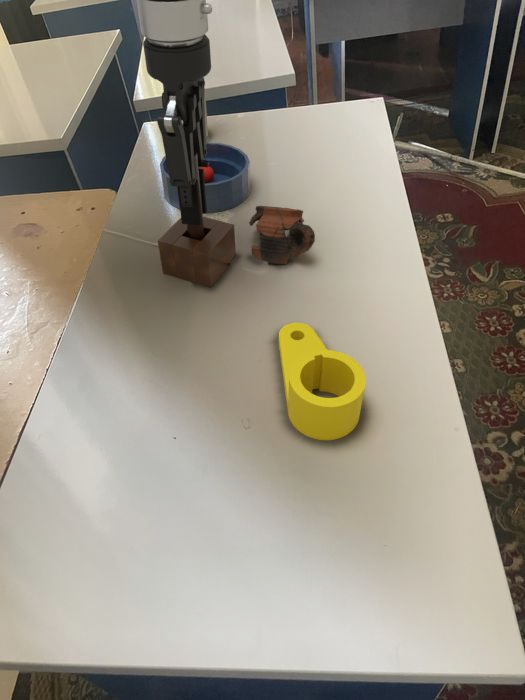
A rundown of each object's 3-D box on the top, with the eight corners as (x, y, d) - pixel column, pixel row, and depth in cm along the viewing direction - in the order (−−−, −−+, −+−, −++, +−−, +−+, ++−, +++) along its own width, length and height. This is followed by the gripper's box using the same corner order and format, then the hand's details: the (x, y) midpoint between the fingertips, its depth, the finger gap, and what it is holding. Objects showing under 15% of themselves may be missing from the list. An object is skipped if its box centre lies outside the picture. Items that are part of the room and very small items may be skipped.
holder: (162, 274, 85) (157, 240, 81) (189, 244, 91) (186, 212, 86) (211, 288, 83) (207, 254, 79) (236, 257, 88) (234, 224, 84)
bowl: (148, 205, 99) (142, 173, 95) (191, 166, 109) (188, 136, 104) (225, 225, 94) (223, 193, 90) (263, 183, 104) (263, 151, 100)
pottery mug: (234, 257, 89) (238, 203, 87) (271, 256, 96) (276, 206, 94) (295, 269, 82) (301, 210, 79) (331, 266, 89) (337, 212, 87)
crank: (369, 432, 65) (377, 398, 60) (299, 446, 63) (301, 413, 59) (321, 327, 77) (325, 292, 73) (261, 337, 76) (261, 303, 71)
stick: (188, 267, 86) (175, 155, 73) (196, 259, 88) (184, 147, 75) (202, 271, 86) (191, 159, 73) (210, 262, 87) (200, 151, 74)
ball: (195, 183, 102) (193, 168, 100) (203, 176, 104) (201, 161, 102) (209, 187, 102) (208, 171, 99) (217, 179, 103) (216, 164, 101)
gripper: (190, 62, 58) (207, 251, 75) (223, 17, 69) (231, 191, 86) (120, 58, 59) (153, 246, 76) (163, 14, 70) (183, 187, 86)
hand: (194, 217), depth 81 cm, fingers closed on stick, 2 cm apart
